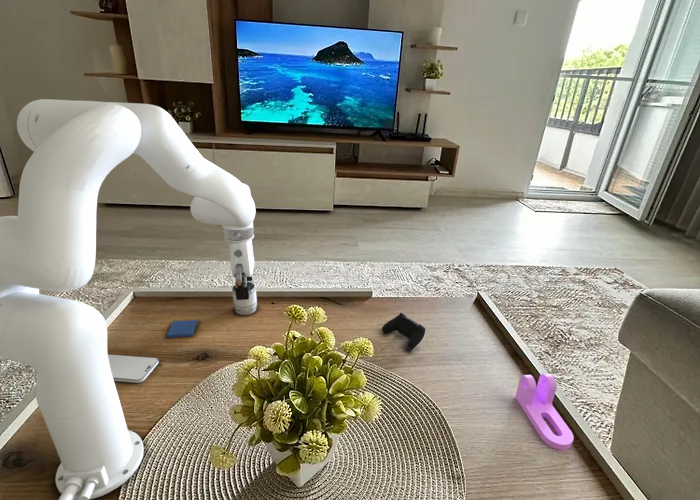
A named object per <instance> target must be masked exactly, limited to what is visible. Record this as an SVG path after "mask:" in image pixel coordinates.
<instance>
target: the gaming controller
mask: <svg viewBox="0 0 700 500" xmlns="http://www.w3.org/2000/svg"><path fill="white" fill-rule="evenodd" d="M381 332H382V333H383V335H387V334H388V335H389V334H391V333H393V332H398V333H399V334H401V335H402V336H404V337H405V338H406V339H408V343H407V347H406V350H407V351H408V352H413V351H414V350H415V349H416V348H417V347H419V345H421V343H422V342H423V340H424V339H425V336H426V334H427V333H426V332H427V329H426V328H425V326H423V325H422V324H419V323H418V322H416V321H415V320H413V319H411V318H409V317H407V315H406V314H405V313H403V312H400V313H399V314H398V315H396V316H395V317H393V318H392V319H390V320H388V321H387V322H385V323H384V324H383V326H382V327H381Z"/></svg>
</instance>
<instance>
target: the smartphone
mask: <svg viewBox="0 0 700 500" xmlns="http://www.w3.org/2000/svg"><path fill="white" fill-rule="evenodd" d="M108 359H109V364H110V368H111V372H112V376H113V380H114V382H123V383H134V384H135V383H136V384H138V383H139V384H140V383H143V382H144V381H145V380H146V379H147V378H148V376H150V374H151V373H152V372H153V371H154V370H155V368H156V367H157V366H158V364H159V363H160V362H159V358H157V357H149V356H148V357H147V356H136V355H135V356H134V355H124V354H123V355H122V354H110V353H108Z"/></svg>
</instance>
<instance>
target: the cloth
mask: <svg viewBox="0 0 700 500" xmlns="http://www.w3.org/2000/svg"><path fill="white" fill-rule="evenodd" d="M197 324H198V320H197V319H189V320H188V319H187V320H174V321H172V323H171V325H170V327H169V330H168V332H167V334H166V337H167V338H183V337H193V335H194V334H195V331H196V328H197Z"/></svg>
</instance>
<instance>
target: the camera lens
mask: <svg viewBox="0 0 700 500" xmlns="http://www.w3.org/2000/svg"><path fill="white" fill-rule="evenodd" d="M247 285H248V291H249V299H248V300H237V299H236V291H235V284H234V285H233V286H232V288H231V294H232V301H233V307H234V310H235V313H236V314H237V315H240V316H248V315H251V314H253V313H255V312H256V311H257V307H258V299H257V298H258V297H257V287H256V284H254V283H253V282H252V281H247Z"/></svg>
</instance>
